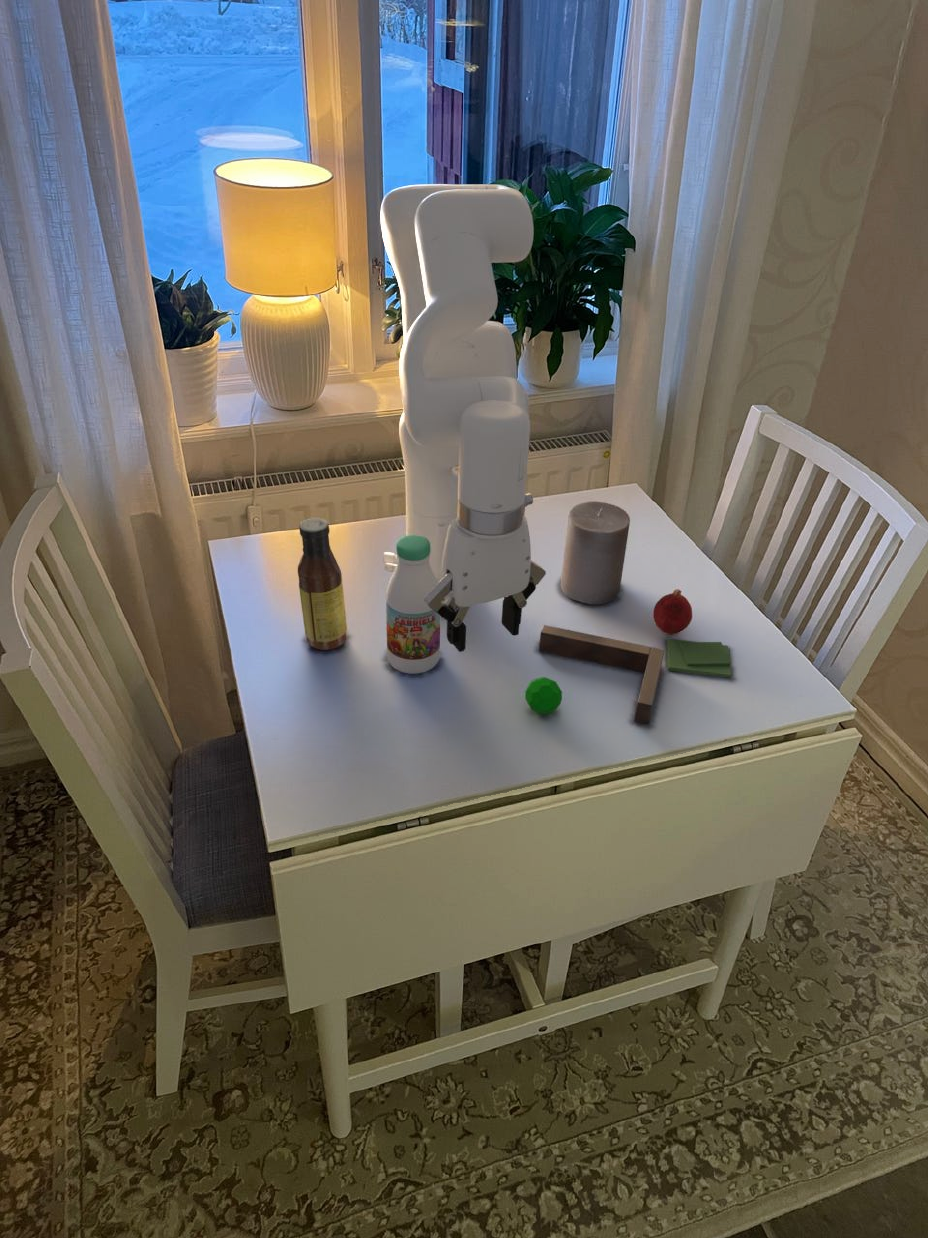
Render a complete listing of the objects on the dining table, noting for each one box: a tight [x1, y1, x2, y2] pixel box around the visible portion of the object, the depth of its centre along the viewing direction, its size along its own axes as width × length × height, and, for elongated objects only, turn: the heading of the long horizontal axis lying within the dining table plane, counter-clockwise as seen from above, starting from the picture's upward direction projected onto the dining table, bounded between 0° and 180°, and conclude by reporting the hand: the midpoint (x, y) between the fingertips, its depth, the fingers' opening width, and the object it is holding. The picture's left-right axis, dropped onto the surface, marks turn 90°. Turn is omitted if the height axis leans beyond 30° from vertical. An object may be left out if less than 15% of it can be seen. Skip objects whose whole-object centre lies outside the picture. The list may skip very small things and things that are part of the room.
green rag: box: [666, 638, 732, 679], centre depth 138 cm, size 9×7×1 cm
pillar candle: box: [560, 500, 631, 606], centre depth 149 cm, size 10×10×15 cm
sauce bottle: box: [297, 517, 348, 651], centre depth 134 cm, size 7×6×20 cm
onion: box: [652, 588, 693, 635], centre depth 141 cm, size 6×6×8 cm
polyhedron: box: [524, 676, 563, 715], centre depth 127 cm, size 5×5×5 cm
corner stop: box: [538, 624, 666, 725], centre depth 133 cm, size 18×13×4 cm
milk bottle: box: [385, 534, 442, 675], centre depth 131 cm, size 8×8×20 cm
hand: (483, 636), depth 116 cm, fingers open, 6 cm apart
